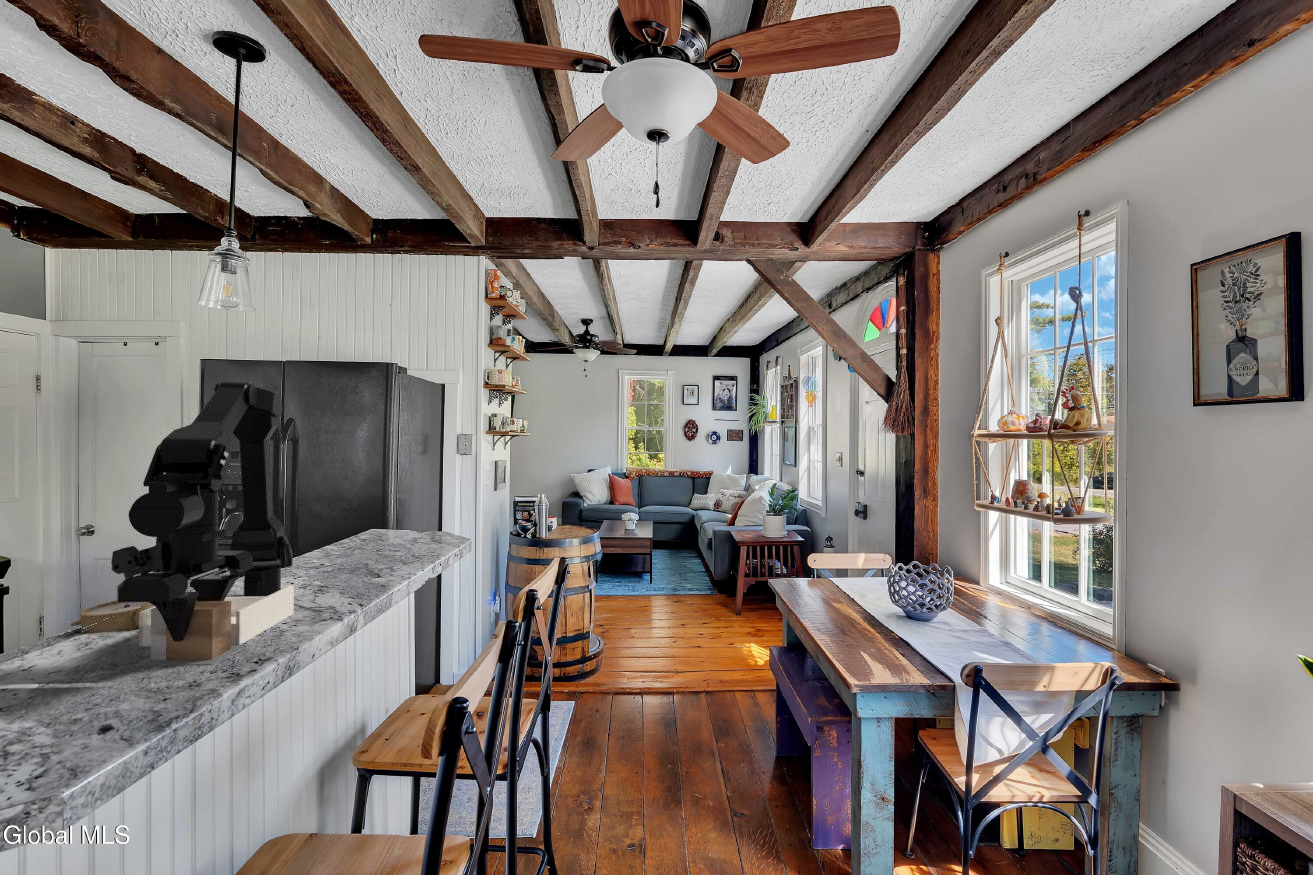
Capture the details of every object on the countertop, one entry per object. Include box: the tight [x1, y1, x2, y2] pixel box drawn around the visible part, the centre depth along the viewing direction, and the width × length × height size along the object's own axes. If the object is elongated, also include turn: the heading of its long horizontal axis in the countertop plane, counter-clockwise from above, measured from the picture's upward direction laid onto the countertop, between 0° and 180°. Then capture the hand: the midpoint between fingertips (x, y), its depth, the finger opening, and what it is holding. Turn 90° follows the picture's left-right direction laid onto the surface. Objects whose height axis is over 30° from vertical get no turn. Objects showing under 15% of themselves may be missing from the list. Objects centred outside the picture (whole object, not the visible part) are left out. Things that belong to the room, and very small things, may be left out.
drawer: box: [138, 584, 295, 647], centre depth 94 cm, size 15×14×6 cm
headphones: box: [70, 599, 154, 634], centre depth 97 cm, size 11×5×15 cm
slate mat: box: [133, 644, 245, 667], centre depth 82 cm, size 7×10×1 cm
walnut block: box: [150, 601, 231, 661], centre depth 82 cm, size 4×8×7 cm, turn 95°
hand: (191, 634), depth 82 cm, fingers open, 5 cm apart
